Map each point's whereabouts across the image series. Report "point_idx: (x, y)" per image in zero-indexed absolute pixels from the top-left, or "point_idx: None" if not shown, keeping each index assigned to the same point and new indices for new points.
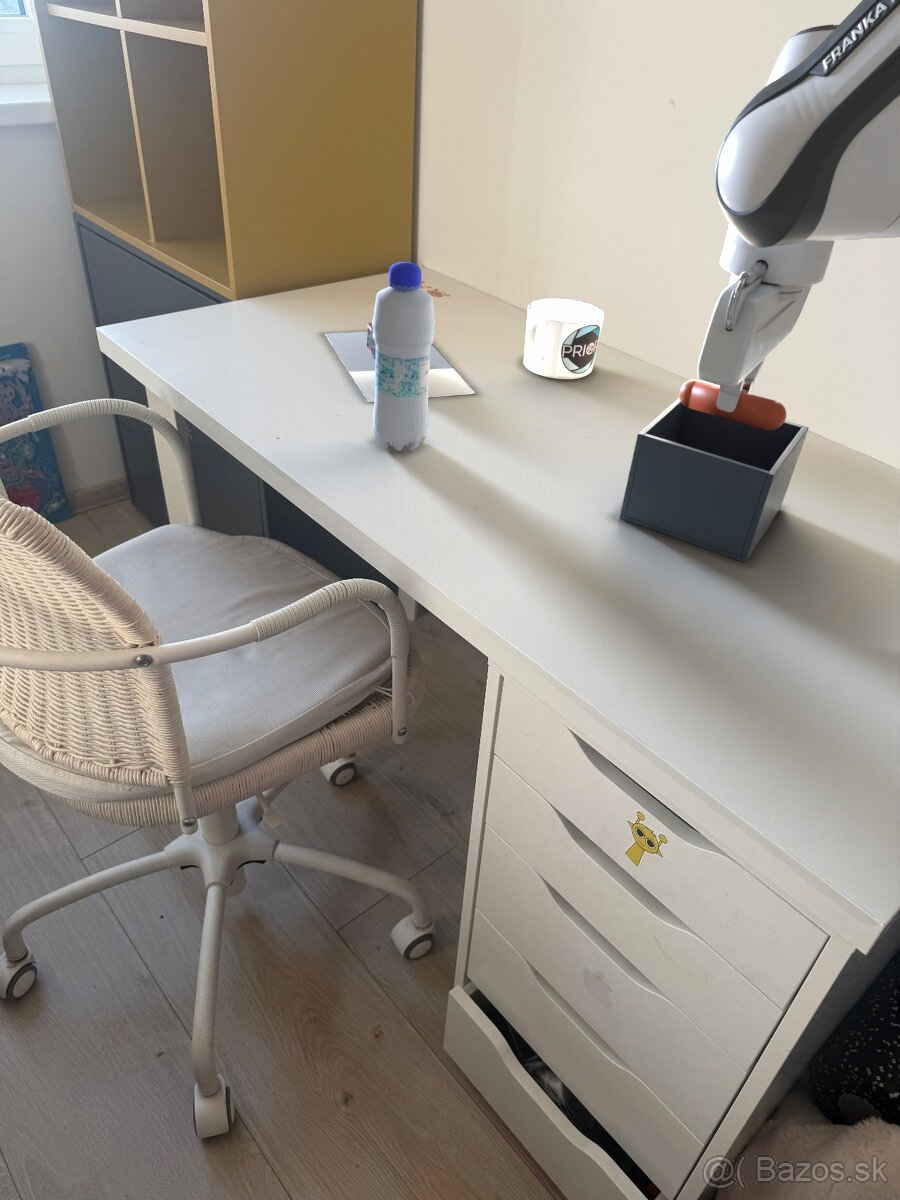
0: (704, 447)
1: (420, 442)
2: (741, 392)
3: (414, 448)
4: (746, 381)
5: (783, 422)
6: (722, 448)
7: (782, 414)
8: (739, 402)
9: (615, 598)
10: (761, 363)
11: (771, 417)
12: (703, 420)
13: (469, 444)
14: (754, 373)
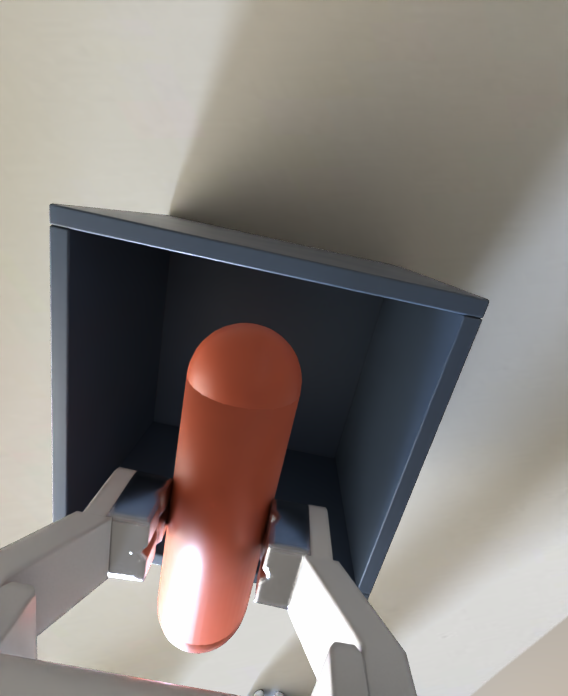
0: (129, 408)
1: (263, 693)
2: (288, 551)
3: (281, 693)
4: (147, 539)
5: (263, 326)
6: (127, 379)
7: (275, 351)
8: (276, 509)
9: (563, 434)
10: (24, 569)
11: (298, 383)
12: (97, 456)
13: (227, 649)
14: (84, 541)
